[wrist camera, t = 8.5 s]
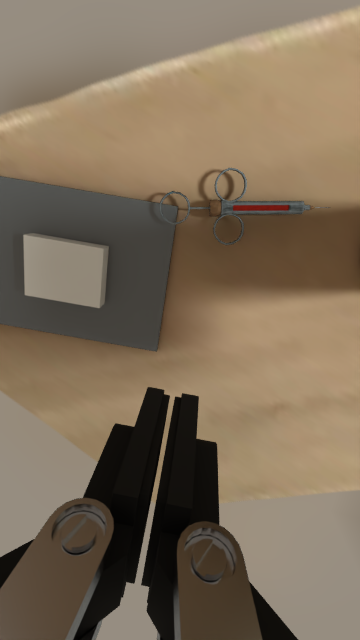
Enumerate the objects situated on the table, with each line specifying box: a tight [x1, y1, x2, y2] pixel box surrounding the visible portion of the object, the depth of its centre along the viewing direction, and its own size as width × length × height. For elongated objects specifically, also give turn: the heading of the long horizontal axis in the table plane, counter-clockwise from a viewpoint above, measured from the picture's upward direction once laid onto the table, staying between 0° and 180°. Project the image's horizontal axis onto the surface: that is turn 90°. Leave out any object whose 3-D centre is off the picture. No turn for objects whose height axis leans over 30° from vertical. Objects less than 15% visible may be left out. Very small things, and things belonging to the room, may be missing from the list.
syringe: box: [159, 168, 330, 245], centre depth 34 cm, size 8×18×2 cm, turn 90°
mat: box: [0, 176, 178, 352], centre depth 38 cm, size 22×18×1 cm
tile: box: [23, 233, 109, 308], centre depth 37 cm, size 2×7×9 cm
